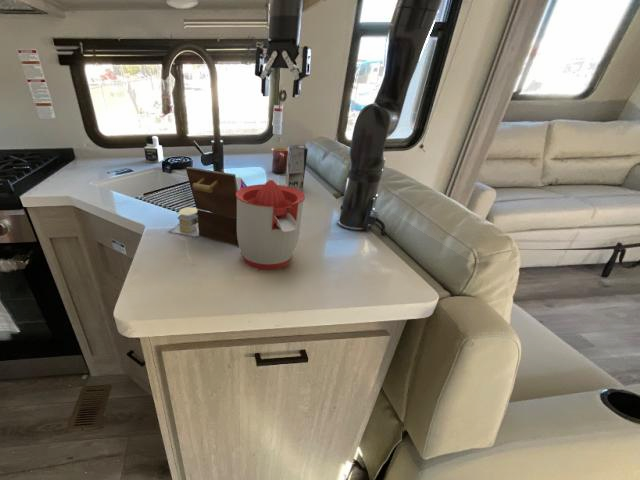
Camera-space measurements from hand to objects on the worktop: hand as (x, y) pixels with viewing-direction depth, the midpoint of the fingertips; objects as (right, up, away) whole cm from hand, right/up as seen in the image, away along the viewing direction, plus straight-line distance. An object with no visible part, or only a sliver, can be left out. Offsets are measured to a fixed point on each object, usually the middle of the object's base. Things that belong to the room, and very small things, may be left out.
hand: (279, 96), depth 85 cm
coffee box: (+12, -8, +48) cm, 50 cm away
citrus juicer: (-4, -44, -3) cm, 45 cm away
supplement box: (-15, -31, +4) cm, 35 cm away
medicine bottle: (-56, +20, +87) cm, 106 cm away
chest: (-14, -34, +10) cm, 38 cm away
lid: (-17, -26, -2) cm, 31 cm away
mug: (+8, +7, +70) cm, 70 cm away
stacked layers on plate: (-26, -32, +14) cm, 43 cm away
